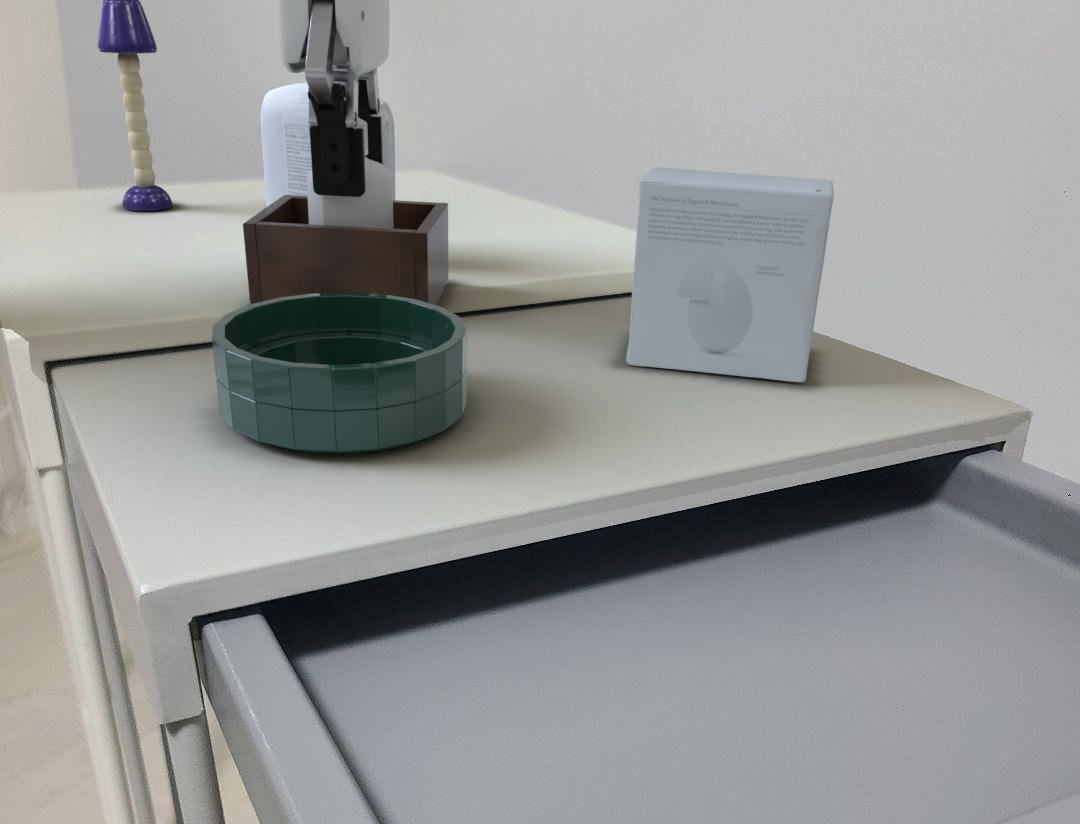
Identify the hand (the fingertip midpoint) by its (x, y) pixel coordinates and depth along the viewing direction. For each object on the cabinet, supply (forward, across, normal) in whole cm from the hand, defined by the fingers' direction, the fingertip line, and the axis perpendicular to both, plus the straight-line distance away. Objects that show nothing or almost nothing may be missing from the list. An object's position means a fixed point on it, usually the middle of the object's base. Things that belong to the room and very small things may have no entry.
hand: (349, 183), depth 70 cm
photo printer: (+8, -11, -4) cm, 14 cm away
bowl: (+7, +21, +4) cm, 23 cm away
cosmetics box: (+8, +9, +24) cm, 27 cm away
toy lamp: (+8, -25, -24) cm, 35 cm away
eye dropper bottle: (+7, 0, 0) cm, 7 cm away
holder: (+7, 0, 0) cm, 7 cm away
